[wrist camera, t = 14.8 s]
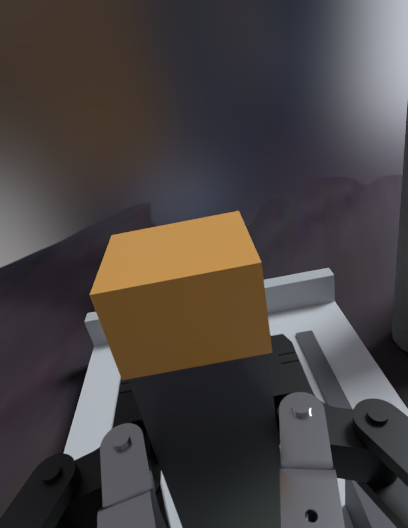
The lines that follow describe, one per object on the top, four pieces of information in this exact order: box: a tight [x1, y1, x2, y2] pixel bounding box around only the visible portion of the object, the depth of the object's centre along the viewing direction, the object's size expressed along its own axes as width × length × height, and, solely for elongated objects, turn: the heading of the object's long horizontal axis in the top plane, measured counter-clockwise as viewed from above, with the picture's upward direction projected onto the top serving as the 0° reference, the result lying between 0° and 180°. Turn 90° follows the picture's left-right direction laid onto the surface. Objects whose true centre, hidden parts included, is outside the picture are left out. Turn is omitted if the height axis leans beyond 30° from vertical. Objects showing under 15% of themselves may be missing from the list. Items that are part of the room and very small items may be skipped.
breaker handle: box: [90, 211, 281, 528], centre depth 13 cm, size 3×4×14 cm
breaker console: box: [63, 268, 408, 528], centre depth 22 cm, size 24×20×6 cm
